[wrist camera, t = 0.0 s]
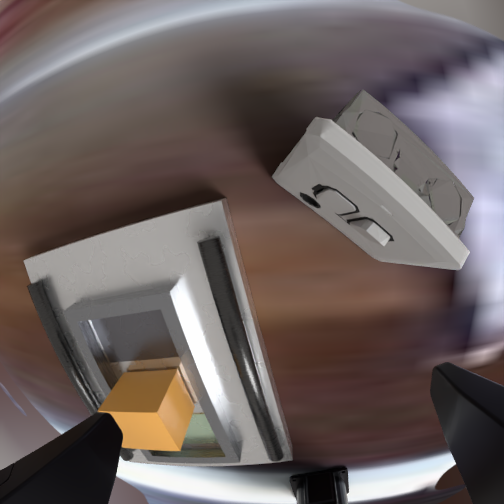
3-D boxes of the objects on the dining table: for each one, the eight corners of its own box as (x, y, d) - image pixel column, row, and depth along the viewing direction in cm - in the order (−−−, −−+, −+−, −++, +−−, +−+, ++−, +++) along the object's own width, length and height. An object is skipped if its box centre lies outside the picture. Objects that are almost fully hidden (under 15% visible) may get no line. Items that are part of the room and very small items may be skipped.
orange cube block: (194, 406, 22) (180, 451, 18) (143, 408, 23) (122, 447, 18) (177, 368, 21) (156, 412, 17) (123, 372, 22) (97, 410, 17)
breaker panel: (292, 445, 26) (292, 472, 22) (135, 449, 28) (125, 470, 25) (226, 197, 20) (216, 202, 17) (37, 254, 23) (12, 265, 19)
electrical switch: (269, 178, 20) (279, 164, 11) (313, 118, 19) (355, 65, 10) (375, 260, 21) (445, 304, 12) (414, 203, 20) (500, 213, 11)
